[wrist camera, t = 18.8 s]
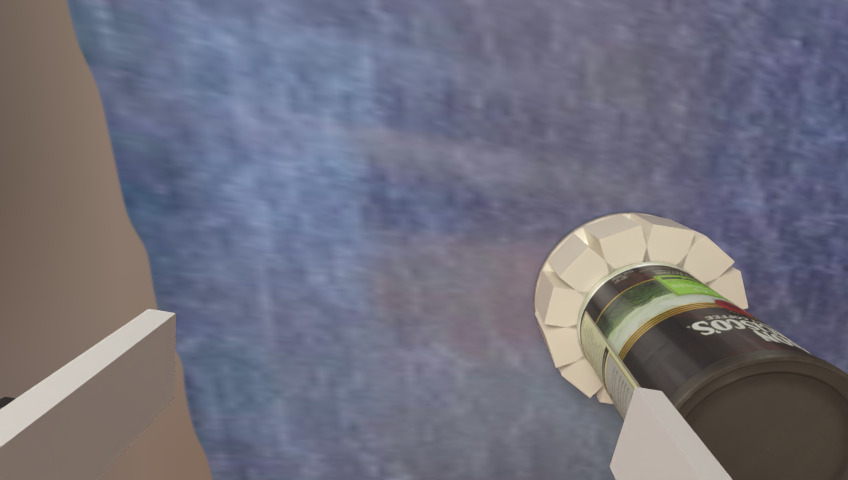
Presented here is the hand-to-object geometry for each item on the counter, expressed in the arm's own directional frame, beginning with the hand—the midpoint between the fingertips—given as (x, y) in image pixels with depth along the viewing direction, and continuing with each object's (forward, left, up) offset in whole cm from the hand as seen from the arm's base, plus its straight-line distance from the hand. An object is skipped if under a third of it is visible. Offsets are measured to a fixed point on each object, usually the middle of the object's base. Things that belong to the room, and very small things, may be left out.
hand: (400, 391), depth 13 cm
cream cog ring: (+5, +18, -27) cm, 33 cm away
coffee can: (+5, +18, -22) cm, 29 cm away
